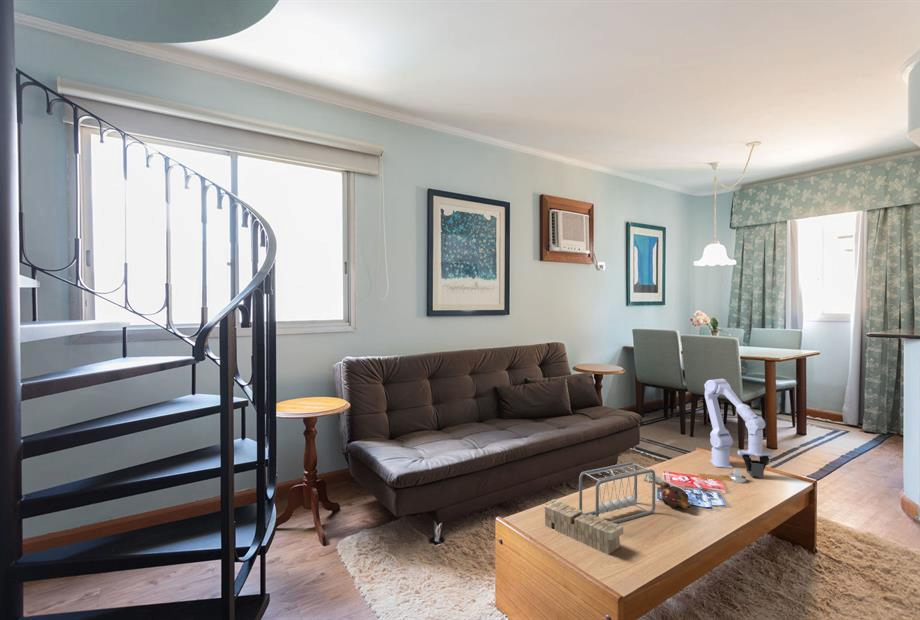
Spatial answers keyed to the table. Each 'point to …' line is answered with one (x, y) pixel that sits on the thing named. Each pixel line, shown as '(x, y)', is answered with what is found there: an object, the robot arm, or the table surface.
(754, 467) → the hollow square tube
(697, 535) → the table surface
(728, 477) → the ratchet
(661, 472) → the table surface
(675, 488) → the decorative turtle
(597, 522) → the block tower
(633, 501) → the newton's cradle
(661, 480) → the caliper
